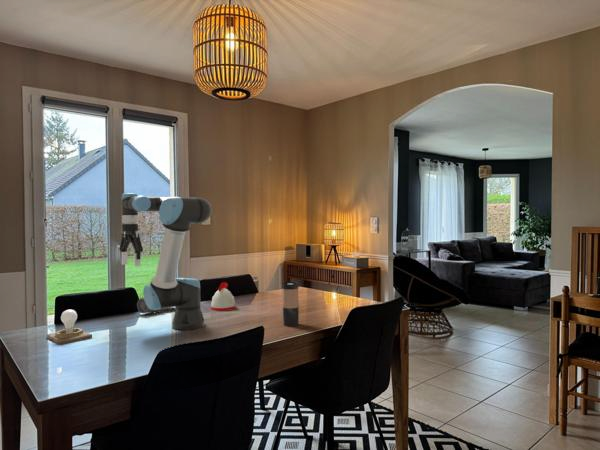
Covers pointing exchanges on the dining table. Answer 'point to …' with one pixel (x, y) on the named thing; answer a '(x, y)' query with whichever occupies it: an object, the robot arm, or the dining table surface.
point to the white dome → (223, 299)
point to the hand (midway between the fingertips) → (131, 265)
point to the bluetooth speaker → (144, 309)
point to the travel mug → (290, 304)
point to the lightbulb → (69, 319)
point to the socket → (69, 336)
